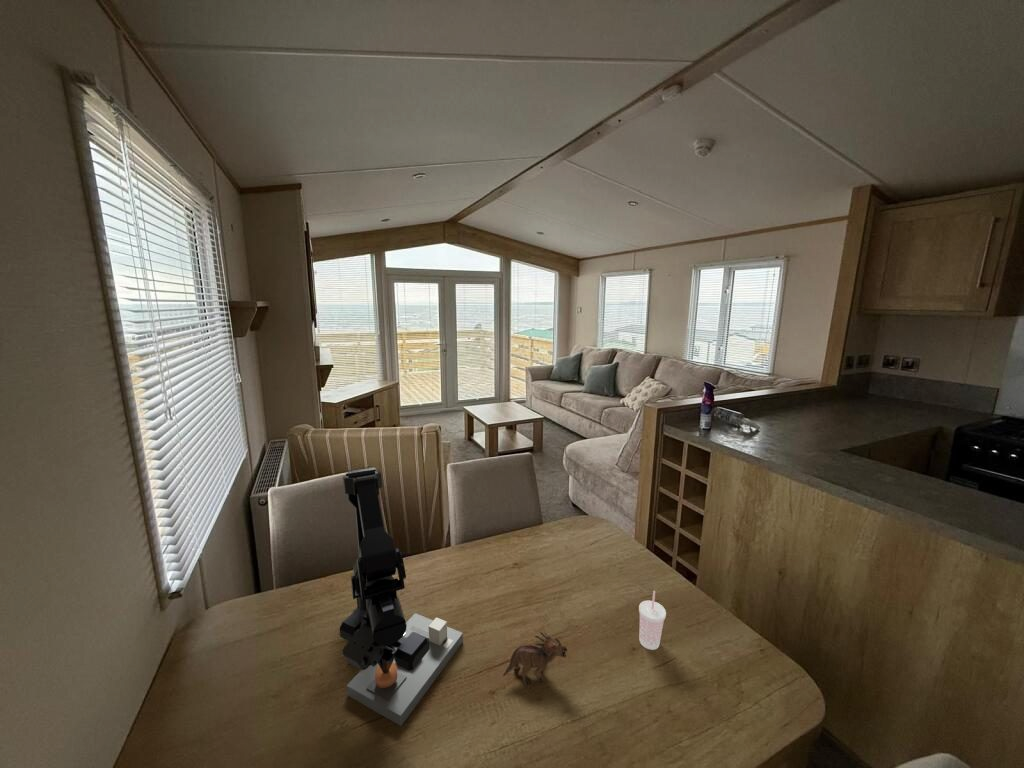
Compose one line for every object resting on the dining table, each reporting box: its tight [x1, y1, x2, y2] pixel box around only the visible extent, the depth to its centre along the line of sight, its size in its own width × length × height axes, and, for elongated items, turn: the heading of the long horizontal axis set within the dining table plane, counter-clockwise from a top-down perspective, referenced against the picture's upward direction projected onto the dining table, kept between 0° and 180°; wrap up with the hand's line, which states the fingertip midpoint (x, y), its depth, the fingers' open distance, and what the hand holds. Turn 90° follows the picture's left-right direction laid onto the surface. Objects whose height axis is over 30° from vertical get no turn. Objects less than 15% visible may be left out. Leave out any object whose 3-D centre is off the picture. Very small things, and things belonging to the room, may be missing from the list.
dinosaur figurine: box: [502, 631, 568, 686], centre depth 91 cm, size 14×6×9 cm, turn 99°
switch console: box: [346, 612, 464, 727], centre depth 92 cm, size 14×22×3 cm, turn 154°
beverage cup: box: [638, 590, 667, 651], centre depth 99 cm, size 6×6×14 cm
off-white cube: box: [429, 617, 448, 646], centre depth 97 cm, size 3×3×4 cm
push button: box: [375, 663, 398, 688], centre depth 85 cm, size 4×4×3 cm
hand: (386, 671), depth 85 cm, fingers closed, pressing on push button
